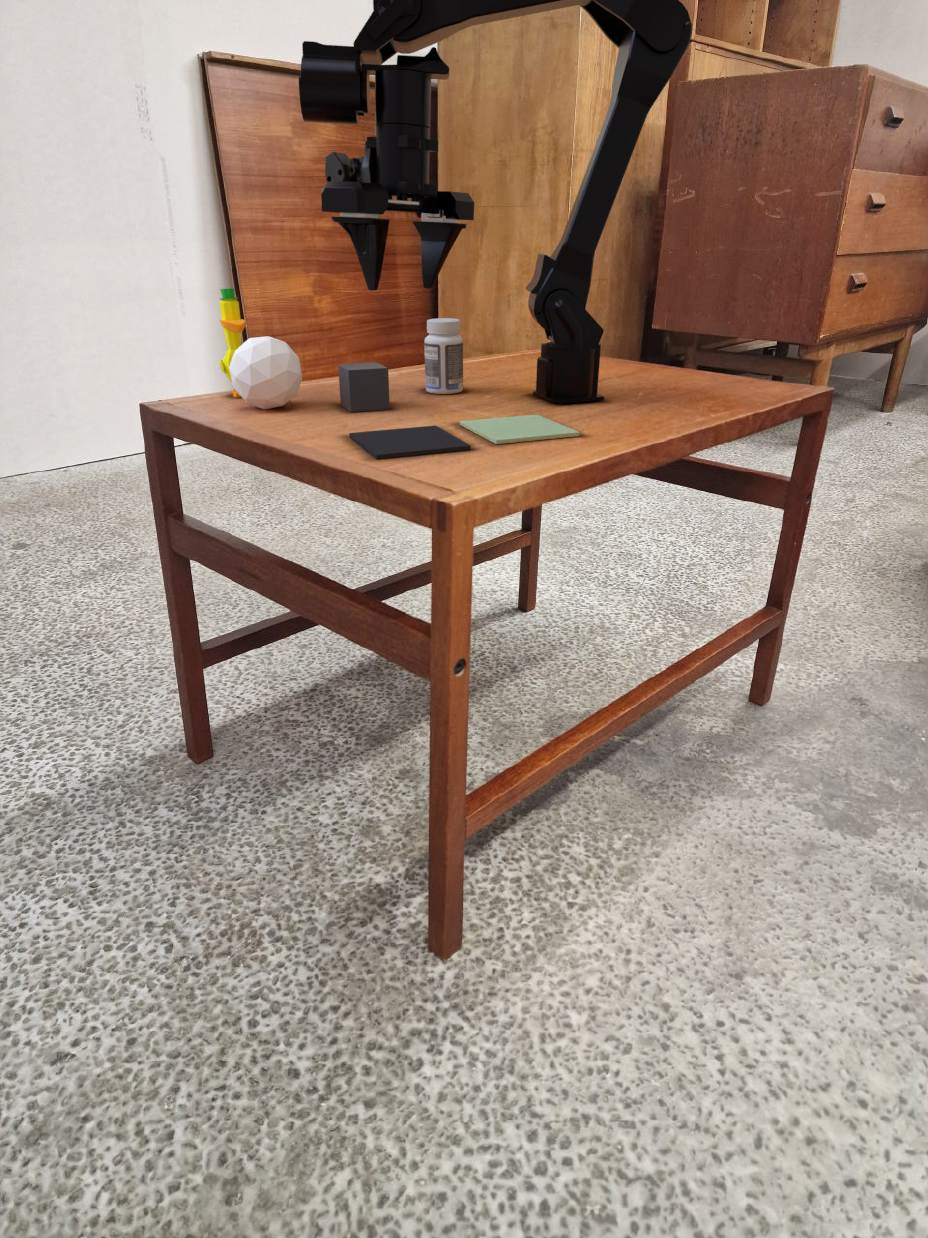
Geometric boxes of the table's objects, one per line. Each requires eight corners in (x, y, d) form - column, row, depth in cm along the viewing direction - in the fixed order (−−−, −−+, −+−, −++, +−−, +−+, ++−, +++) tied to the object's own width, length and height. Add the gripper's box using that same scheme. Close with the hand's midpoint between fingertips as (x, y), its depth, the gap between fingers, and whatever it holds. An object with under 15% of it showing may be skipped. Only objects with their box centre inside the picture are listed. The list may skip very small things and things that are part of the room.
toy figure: (262, 399, 95) (250, 289, 89) (231, 401, 93) (218, 290, 88) (249, 390, 100) (237, 286, 95) (220, 392, 99) (207, 287, 93)
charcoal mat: (436, 429, 81) (435, 425, 81) (470, 449, 73) (470, 445, 73) (349, 436, 78) (349, 432, 78) (376, 459, 70) (376, 454, 70)
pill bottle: (462, 387, 102) (462, 317, 98) (463, 394, 98) (464, 321, 94) (425, 387, 102) (424, 317, 98) (424, 394, 98) (423, 321, 94)
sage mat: (537, 417, 86) (537, 414, 86) (579, 436, 78) (579, 431, 78) (459, 424, 83) (459, 420, 83) (495, 444, 75) (496, 440, 75)
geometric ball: (255, 430, 92) (224, 368, 93) (318, 401, 93) (287, 340, 93) (242, 408, 85) (209, 341, 85) (311, 377, 86) (278, 311, 86)
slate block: (378, 402, 94) (376, 361, 92) (389, 409, 90) (388, 367, 88) (340, 404, 92) (337, 364, 90) (350, 412, 88) (348, 370, 86)
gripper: (405, 139, 94) (403, 282, 101) (281, 118, 81) (289, 285, 88) (480, 136, 88) (473, 289, 95) (360, 114, 75) (362, 293, 82)
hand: (401, 289), depth 90 cm, fingers open, 9 cm apart
